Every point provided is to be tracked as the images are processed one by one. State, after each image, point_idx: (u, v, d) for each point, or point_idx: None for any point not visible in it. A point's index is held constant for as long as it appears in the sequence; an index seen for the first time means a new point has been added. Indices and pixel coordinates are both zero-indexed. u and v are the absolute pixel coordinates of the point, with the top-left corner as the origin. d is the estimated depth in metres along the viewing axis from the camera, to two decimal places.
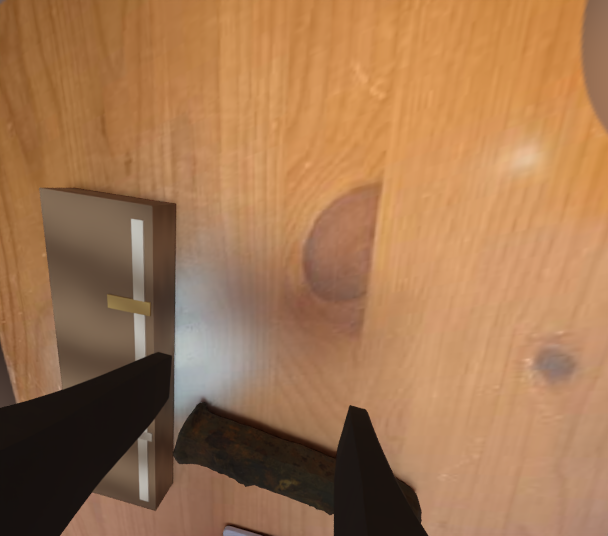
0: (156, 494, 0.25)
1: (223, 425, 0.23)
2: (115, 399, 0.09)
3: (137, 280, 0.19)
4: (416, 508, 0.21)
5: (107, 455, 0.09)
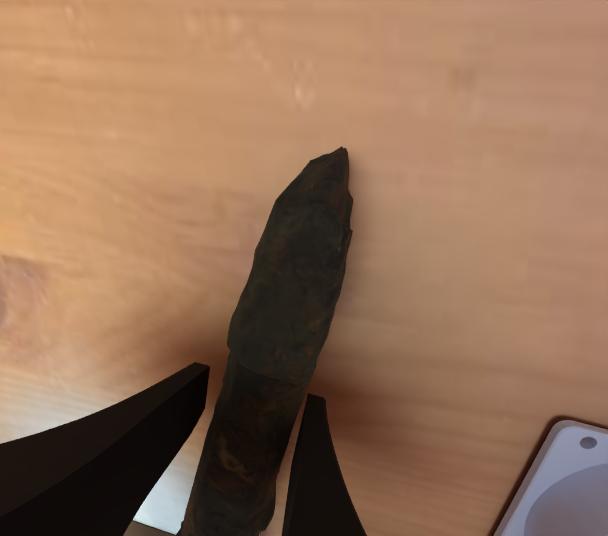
0: None
1: None
2: (163, 413, 0.09)
3: None
4: None
5: (153, 470, 0.09)
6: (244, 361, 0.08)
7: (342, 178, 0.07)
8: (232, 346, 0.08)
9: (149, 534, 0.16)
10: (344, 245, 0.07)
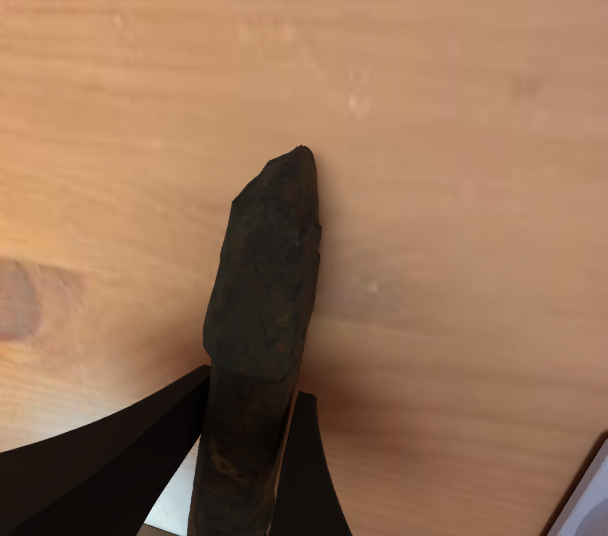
0: None
1: None
2: (173, 416, 0.09)
3: None
4: None
5: (163, 473, 0.09)
6: (220, 362, 0.08)
7: (296, 174, 0.07)
8: (208, 348, 0.08)
9: None
10: (302, 239, 0.07)
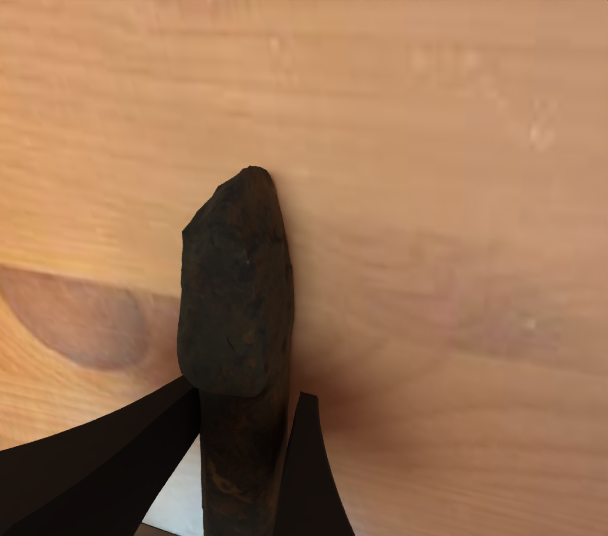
0: None
1: None
2: (171, 416, 0.09)
3: None
4: None
5: (161, 473, 0.09)
6: (198, 385, 0.08)
7: (239, 196, 0.07)
8: (185, 373, 0.08)
9: None
10: (253, 257, 0.07)
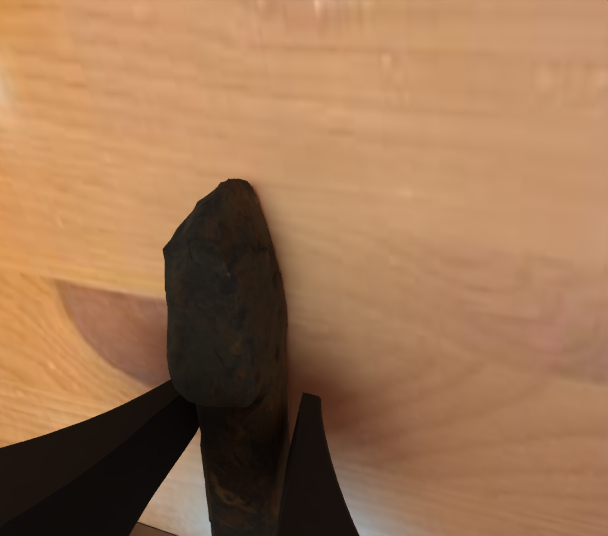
0: None
1: None
2: (167, 415, 0.09)
3: None
4: None
5: (158, 472, 0.09)
6: (191, 399, 0.08)
7: (216, 210, 0.07)
8: (178, 388, 0.08)
9: None
10: (233, 269, 0.07)
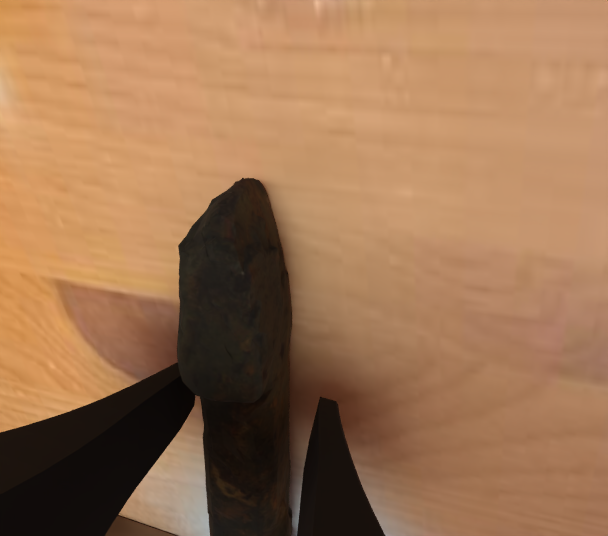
0: None
1: None
2: (148, 409, 0.09)
3: None
4: None
5: (139, 466, 0.09)
6: (199, 393, 0.08)
7: (232, 210, 0.07)
8: (186, 382, 0.08)
9: None
10: (247, 268, 0.07)
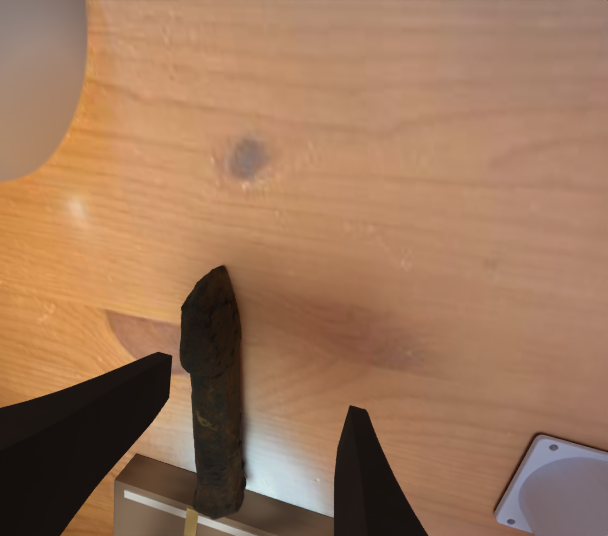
0: None
1: None
2: (115, 399, 0.09)
3: (169, 510, 0.24)
4: None
5: (107, 455, 0.09)
6: (189, 371, 0.18)
7: (205, 291, 0.17)
8: (183, 366, 0.18)
9: (276, 503, 0.25)
10: (210, 317, 0.17)
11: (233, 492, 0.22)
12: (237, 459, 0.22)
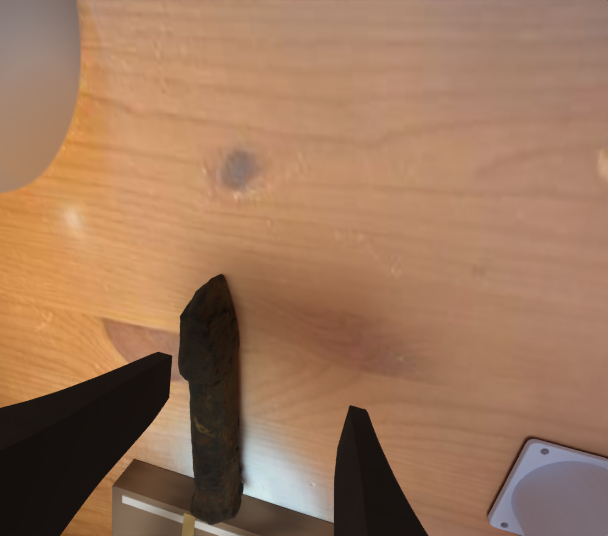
0: None
1: None
2: (115, 398, 0.09)
3: (167, 515, 0.24)
4: (202, 288, 0.19)
5: (107, 455, 0.09)
6: (187, 379, 0.18)
7: (203, 301, 0.18)
8: (182, 374, 0.18)
9: (273, 508, 0.25)
10: (208, 327, 0.17)
11: (230, 498, 0.22)
12: (234, 465, 0.22)
